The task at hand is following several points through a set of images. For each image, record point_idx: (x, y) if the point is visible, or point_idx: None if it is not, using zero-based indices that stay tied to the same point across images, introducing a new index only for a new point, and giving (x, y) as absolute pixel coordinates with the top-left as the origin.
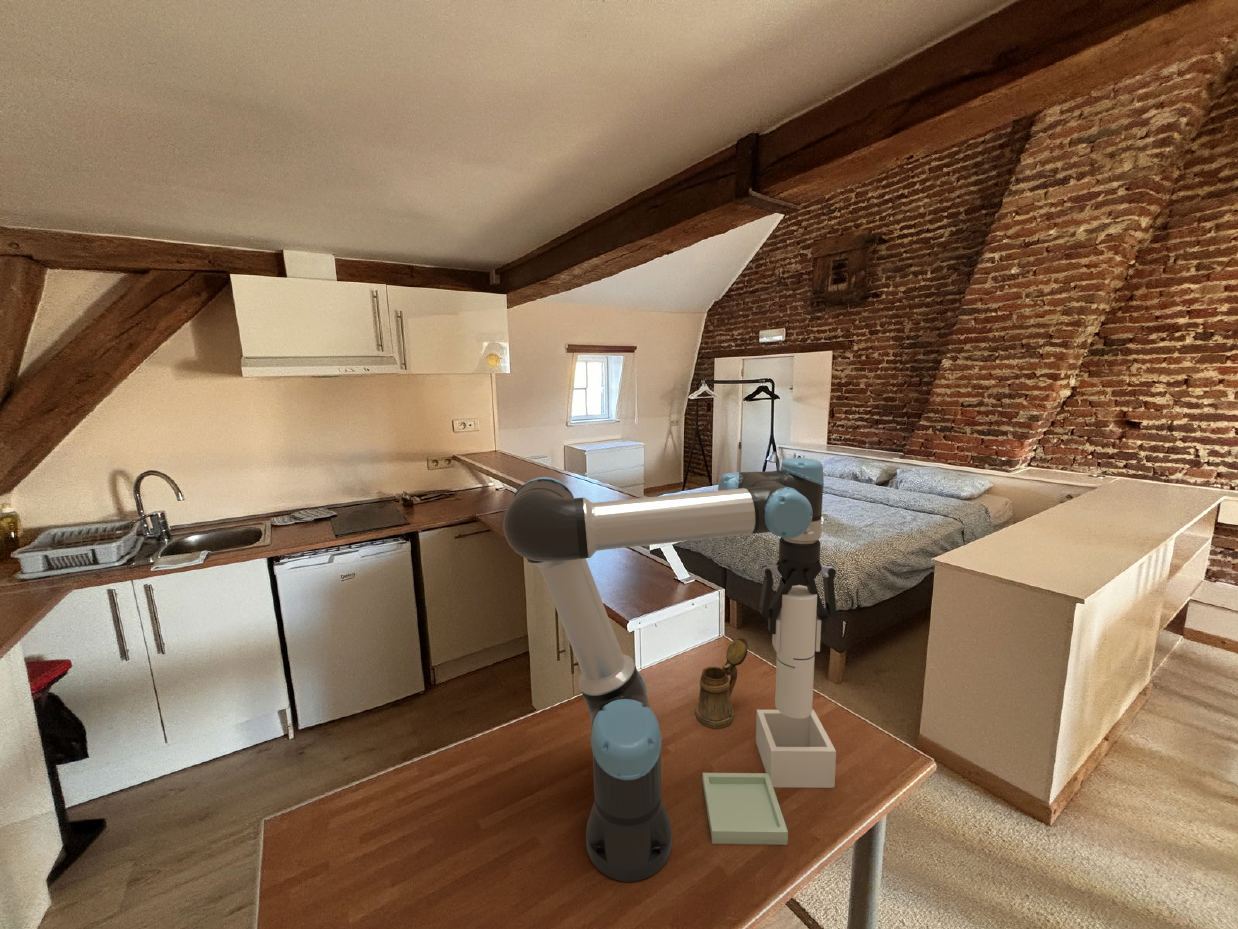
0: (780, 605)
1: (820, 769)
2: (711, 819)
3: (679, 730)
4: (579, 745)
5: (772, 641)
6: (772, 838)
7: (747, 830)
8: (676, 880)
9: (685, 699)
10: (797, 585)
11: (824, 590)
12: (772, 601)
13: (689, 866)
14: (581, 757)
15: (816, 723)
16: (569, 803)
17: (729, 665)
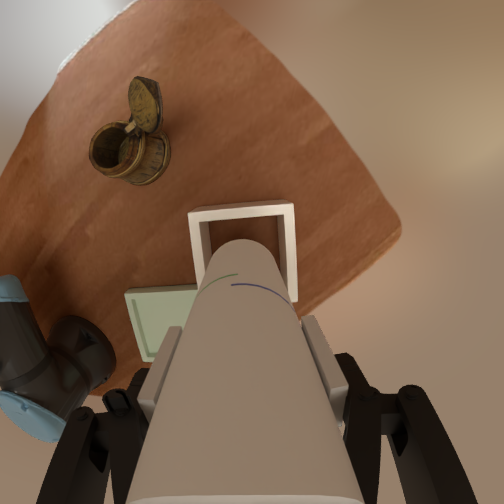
0: None
1: None
2: (141, 351)
3: (96, 196)
4: (14, 241)
5: (166, 333)
6: None
7: None
8: (126, 379)
9: (104, 125)
10: (276, 498)
11: (428, 481)
12: (111, 456)
13: (132, 370)
14: (20, 258)
15: (287, 241)
16: (33, 313)
17: (135, 124)
